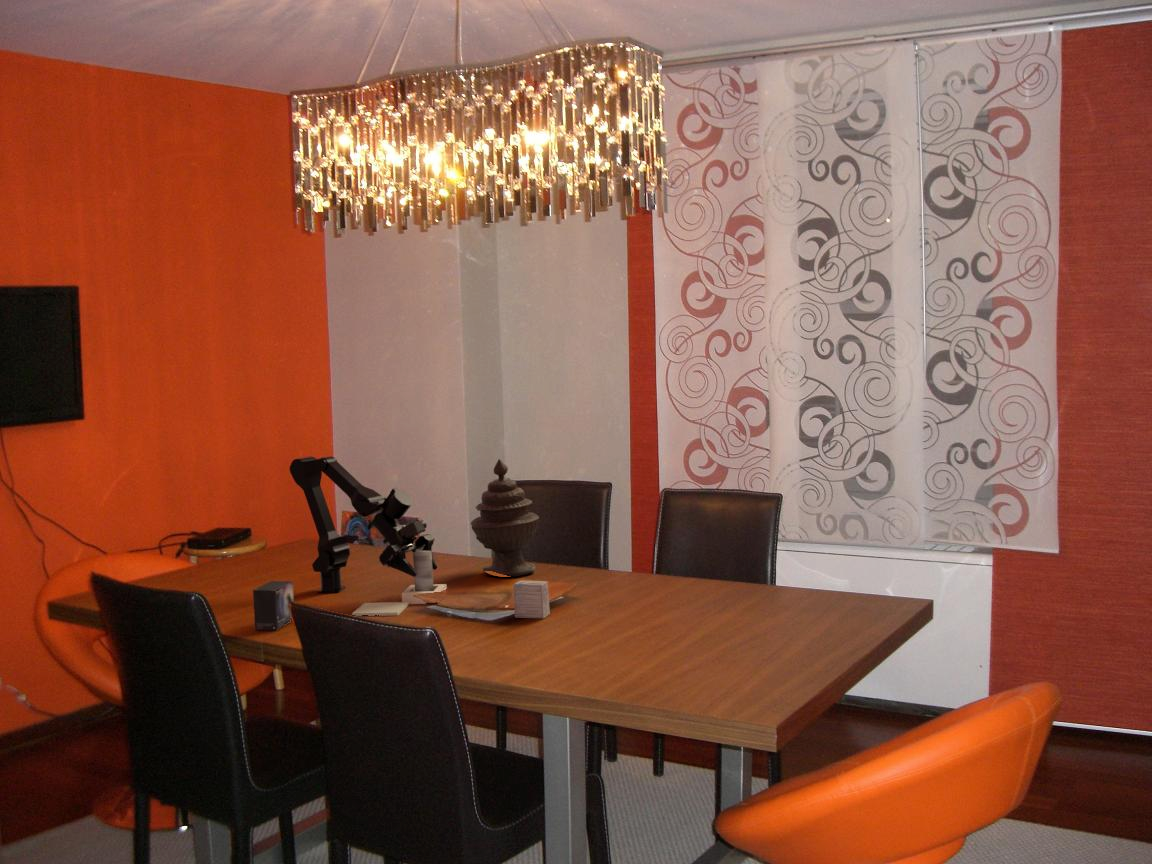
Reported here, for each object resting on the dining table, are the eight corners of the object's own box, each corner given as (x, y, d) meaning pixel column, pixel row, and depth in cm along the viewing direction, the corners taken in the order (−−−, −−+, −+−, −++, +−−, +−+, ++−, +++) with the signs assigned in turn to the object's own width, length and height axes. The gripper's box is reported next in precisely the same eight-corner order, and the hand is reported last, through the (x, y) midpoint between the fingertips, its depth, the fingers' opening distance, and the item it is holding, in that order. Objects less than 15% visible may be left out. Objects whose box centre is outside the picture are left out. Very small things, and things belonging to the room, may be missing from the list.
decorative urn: (550, 562, 346) (538, 450, 341) (537, 582, 326) (523, 463, 321) (486, 566, 350) (473, 455, 344) (469, 585, 330) (454, 468, 325)
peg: (418, 597, 311) (415, 550, 310) (436, 597, 310) (433, 550, 309) (413, 601, 306) (410, 554, 305) (431, 601, 305) (429, 554, 304)
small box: (278, 631, 281) (275, 589, 280) (253, 631, 283) (251, 589, 282) (296, 620, 292) (294, 580, 291) (273, 620, 293) (270, 580, 292)
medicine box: (550, 614, 286) (548, 581, 285) (544, 619, 281) (542, 585, 281) (521, 613, 288) (519, 580, 287) (514, 618, 284) (512, 584, 283)
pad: (364, 605, 304) (364, 602, 304) (408, 605, 303) (408, 602, 303) (352, 616, 293) (352, 613, 293) (397, 615, 292) (397, 612, 292)
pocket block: (411, 595, 314) (410, 584, 313) (447, 594, 313) (446, 584, 312) (402, 604, 304) (401, 593, 304) (438, 603, 303) (438, 592, 302)
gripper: (384, 516, 300) (421, 559, 296) (427, 505, 316) (462, 546, 312) (363, 544, 305) (398, 587, 300) (406, 531, 321) (440, 572, 316)
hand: (426, 572), depth 307 cm, fingers open, 9 cm apart
